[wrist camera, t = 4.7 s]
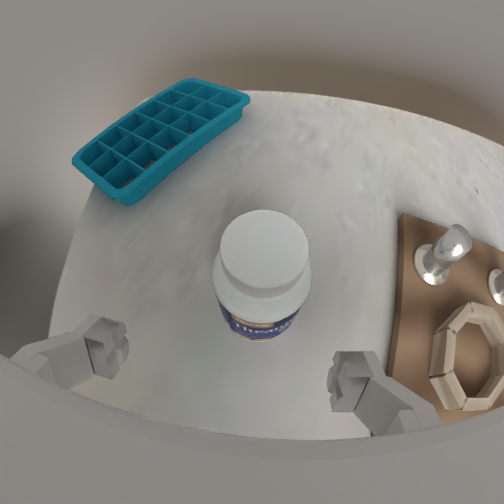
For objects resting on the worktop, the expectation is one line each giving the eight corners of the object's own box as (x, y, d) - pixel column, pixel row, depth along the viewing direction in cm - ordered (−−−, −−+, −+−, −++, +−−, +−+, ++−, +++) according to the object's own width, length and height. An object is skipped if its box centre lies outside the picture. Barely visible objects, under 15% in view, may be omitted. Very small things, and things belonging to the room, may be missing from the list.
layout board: (497, 432, 14) (518, 431, 11) (370, 437, 16) (389, 442, 13) (501, 258, 23) (517, 245, 20) (398, 219, 25) (411, 200, 22)
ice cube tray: (254, 116, 33) (255, 97, 30) (129, 221, 25) (118, 202, 22) (191, 93, 36) (188, 76, 33) (78, 176, 28) (68, 159, 26)
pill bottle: (232, 351, 19) (216, 318, 11) (216, 284, 22) (194, 210, 13) (303, 332, 20) (343, 285, 11) (282, 268, 22) (301, 188, 14)
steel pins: (509, 308, 19) (541, 290, 14) (412, 281, 21) (444, 253, 16) (506, 275, 21) (534, 254, 16) (412, 241, 22) (439, 209, 18)
